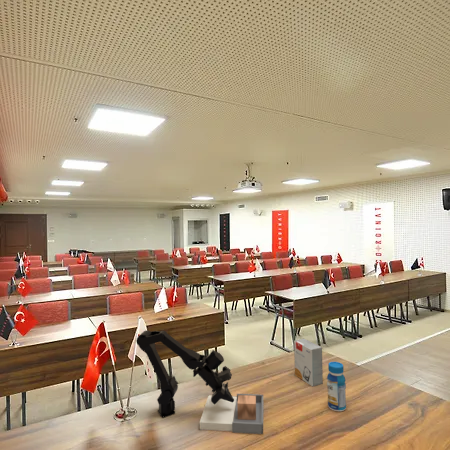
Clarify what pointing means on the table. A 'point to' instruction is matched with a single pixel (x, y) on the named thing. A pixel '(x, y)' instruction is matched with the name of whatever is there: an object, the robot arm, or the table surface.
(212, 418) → the cream slab
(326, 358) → the table surface
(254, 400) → the block
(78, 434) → the table surface
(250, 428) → the box
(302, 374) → the hard drive box
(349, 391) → the table surface
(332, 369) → the beverage bottle
